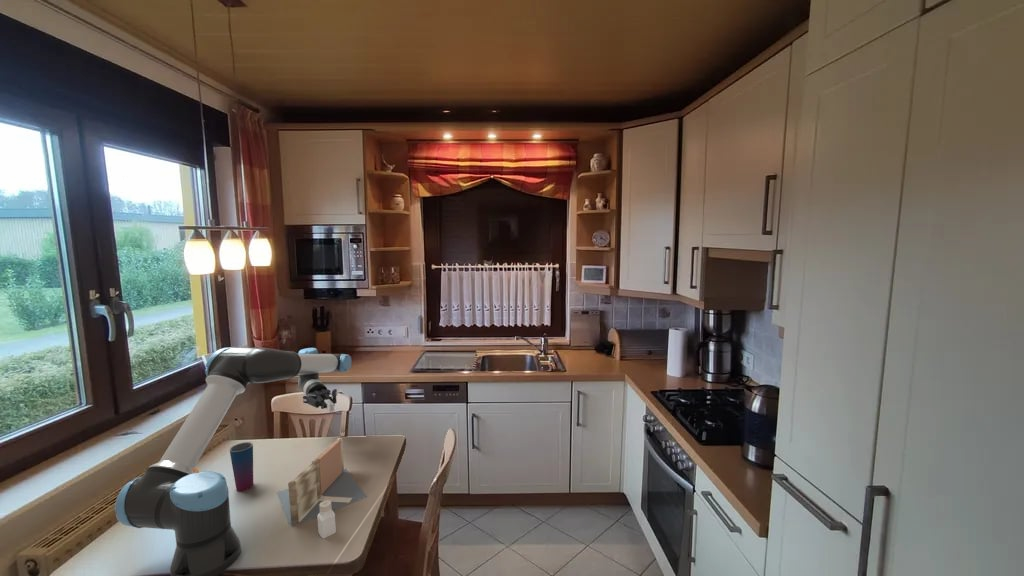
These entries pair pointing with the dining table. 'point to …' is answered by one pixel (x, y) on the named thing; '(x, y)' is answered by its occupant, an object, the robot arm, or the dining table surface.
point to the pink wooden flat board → (330, 464)
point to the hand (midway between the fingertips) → (331, 408)
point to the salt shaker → (326, 519)
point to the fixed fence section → (304, 491)
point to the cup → (242, 465)
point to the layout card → (328, 496)
